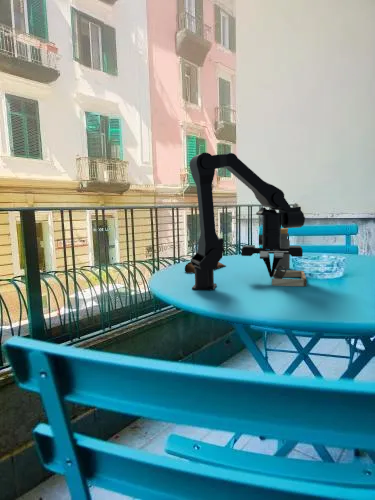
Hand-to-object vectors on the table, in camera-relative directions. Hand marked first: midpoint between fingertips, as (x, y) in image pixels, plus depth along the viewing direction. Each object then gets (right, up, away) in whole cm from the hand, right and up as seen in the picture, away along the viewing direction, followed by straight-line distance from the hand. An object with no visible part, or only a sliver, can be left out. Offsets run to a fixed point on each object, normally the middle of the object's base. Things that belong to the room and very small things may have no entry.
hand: (271, 277), depth 117 cm
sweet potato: (-20, +1, +23) cm, 30 cm away
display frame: (+5, -1, -1) cm, 5 cm away
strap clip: (+2, -1, 0) cm, 2 cm away
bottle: (+8, +2, +20) cm, 21 cm away
